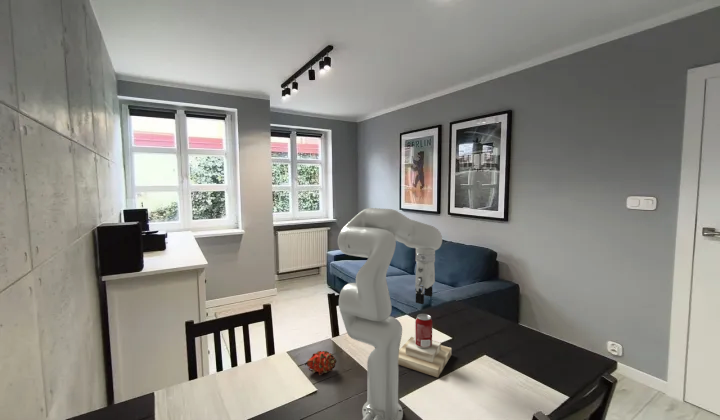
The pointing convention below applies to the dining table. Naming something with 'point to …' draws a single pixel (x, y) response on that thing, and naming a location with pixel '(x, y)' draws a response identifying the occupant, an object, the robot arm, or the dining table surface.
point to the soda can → (423, 331)
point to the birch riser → (424, 357)
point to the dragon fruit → (321, 362)
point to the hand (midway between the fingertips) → (424, 299)
